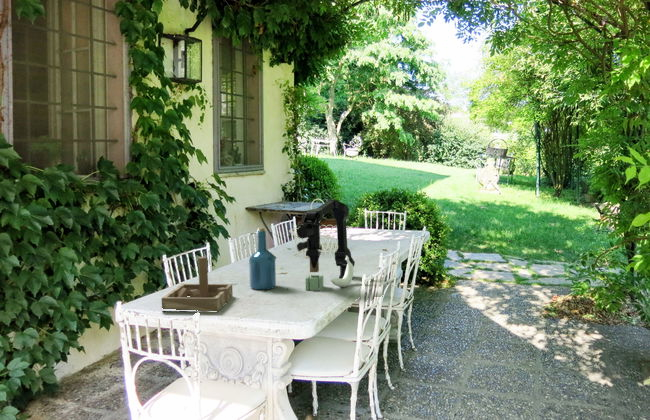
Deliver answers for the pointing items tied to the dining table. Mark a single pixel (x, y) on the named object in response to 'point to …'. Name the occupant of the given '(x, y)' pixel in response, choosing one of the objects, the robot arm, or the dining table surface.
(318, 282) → the green open frame
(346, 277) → the banana
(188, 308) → the crate frame
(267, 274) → the wine bottle
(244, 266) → the dining table surface
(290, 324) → the dining table surface
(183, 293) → the wooden blocks
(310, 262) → the walnut peg
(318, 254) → the robot arm
